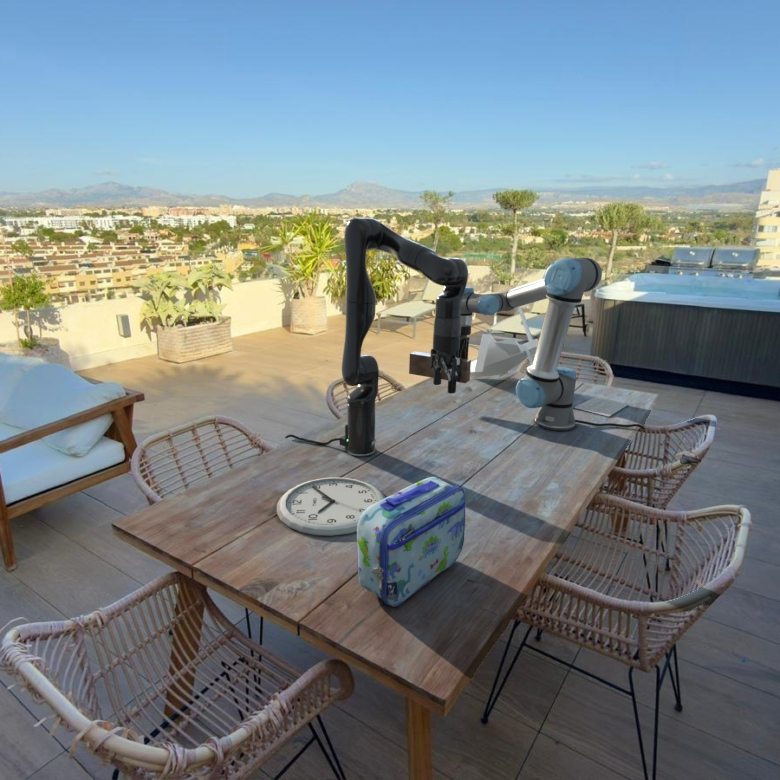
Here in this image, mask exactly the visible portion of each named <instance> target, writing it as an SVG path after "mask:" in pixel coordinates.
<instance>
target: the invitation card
mask: <svg viewBox="0 0 780 780" xmlns="http://www.w3.org/2000/svg"><path fill="white" fill-rule="evenodd" d="M628 406H629V404H627V403H623V402H618V401H614V400H609V399H605V398H601V397H596V396H593V397H592V398H590V399H588V400H586V401H584V402H582V403H580V404H578V405H575V406H574V407H573V409H575V410H581V411H584V412H587V413H593V414H596V415H600V416H604V417H608V418H609V417H611V416H613V415H614V414H616V413H617V412H619V411H621V410H623V409H624V408H626V407H628Z"/></svg>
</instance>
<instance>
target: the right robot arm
mask: <svg viewBox="0 0 780 780" xmlns="http://www.w3.org/2000/svg"><path fill="white" fill-rule="evenodd" d="M602 276H603V272H602V268H601V266H600V264H599V262H597V260H595V259H593V258H590V257H564V258H561V259H557V260H555V261H553V262H552V263H551V264H550V265H549V266H548V267H547V269H546V271H545V273H544V276H543V278H541V279H538V280H536V281H532V282H529V283H527V284H523V285H520V286H518V287H515V288H511V289H508V290H505V291H501V292H495V293H485V294H484V293H483V294H482V293H476V292H475V289H474V287H472V286H466V288H465V291H464V295H463V298H462V301H461V336H460V349H459V350H458V351H456V353H455V355H456V358H462V359H469V346H470V337H469V336H470V335H471V334H472V324H473V321H472V320H473V313H475V314H480V315H484V316H493V315H495V314H496V313H499V312H509V311H513V310H514V309H516V308H520V307H522V306H525V305H529V304H533V303H537V302H539V301H543V300H546V299H548V304H547V308H546V312H545V315H544V319H543V323H542V327H541V331H540V334H539V338H538V340H539V342H538V346H537V349H536V353H535V354H534V357H533V364H532V365H530V364H529V366H527V367H526V371H525V374H524V377H523V378H521V379H519V380H518V381H517V383H516V386H515V394H516V397H517V398H518V401H519V402H520V403H521V405H523V406H525V407H527V408H529V409H538V410H537V411H536V413H535V416H534V424H535V425H536V426H537V427H539V428H542V429H544V430H549V431H556V432H567V431H572V430H574V429H575V428H576V423H577V424H584V425H588V426H593V427H620V428H634V427H638V428H640V429H641V430H646V428H645V426H643V424H642V425H641V424H639V423H633V424H632V423H630V424H623V423H614V422H613V423H612V422H604V423H594V422H590V421H587V420H580V419H576V418H575V417H576V416H575V413H574V407H573V405H574V398H575V391H576V383H577V372H576V370H575V369H573V368H571V367H566V366H561V365H559V364H560V363H559V362H560V359H561V357H562V356H561V355H562V352H563V348H564V345H565V342H566V338H567V336H568V335H567V334H568V331H569V328H570V325H571V322H572V321H571V320H572V318H573V315H574V314H573V313H574V311H575V308H576V306H578V305H580V304H581V303H582V299H583V296H584V294H585V293H586V292H590V291H592V290H594V289H595V288H596V287H598V285H599V284H600V282H601V280H602V278H603V277H602ZM457 375H458V371H457ZM457 381H460V380H457Z"/></svg>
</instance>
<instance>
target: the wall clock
mask: <svg viewBox="0 0 780 780" xmlns="http://www.w3.org/2000/svg"><path fill="white" fill-rule="evenodd" d="M385 498H386V496H385V494H384V493H383V492H382V491H381V490H380V489H379V488H377V487H376V486H374V485H372V484H371V483H369V482H365V481H362V480H359V479H355V478H349V477H338V476H337V477H335V476H333V477H332V476H331V477H322V478H317V479H312V480H307V481H305V482H302V483H299V484H297V485H295V486H293V487H292V488H290V489H288V490H287V491H286V492H285V493H284V494H283V495H281V496H280V498H279V499H278V502H277V503H276V515H277V517H278V518H279V520H280V521H281V522H282V523H283V524H285V525H286V526H287V527H288V528H290V529H293V530H295V531H297V532H299V533H303V534H308V535H312V536H327V537H328V536H329V537H331V536H332V537H333V536H342V535H350V534H352V533H357V526H358V522H359V519H360V517H361V515H362V513H363V512H364V511H365V510H366V509H367V508H368V507H369V506H371V505H373V504H375V503H377V502H379V501H381V500H383V499H385Z"/></svg>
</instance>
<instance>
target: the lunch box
mask: <svg viewBox="0 0 780 780" xmlns="http://www.w3.org/2000/svg"><path fill="white" fill-rule="evenodd" d="M465 528H466V494H465V490H464V489H463V487H461V486H458V485H456V486H454V485H451V484H450V483H448V482H446V481H444V480H442V479H440V478H438V477H436V476H430V477H426V478H424V479H421V480H420V481H417V482H415V483H413V484H411V485H409V486H407V487H405V488H402V489H401V490H399V491H396V492H395V493H393V494H390V495H389V496H387V497H385V499H383V500H381V501H379V502H377V503H375V504H373V505H371V506H369V507H368V508H367V509H366V510H365V511H364V512H363V513H362V515H361V517H360V519H359V522H358V526H357V532H356V549H357V550H356V551H357V552H356V553H357V577H358V583H359V585H360V587H361V588H362V589H364V590H366V591H368V592H370V593H372V594H374V595H375V596H377V598H379V599H381V600H382V602H383V603H384V604H385V605H387V606H390V607H393V608H394V607H398V606H400V605H402V604H403V603H404V602H405V601H406V600H408V599H409V598H410V597H411V596H412V595H414V594H416V592H418V591H419V590H420V589H422V588H423V587H424V586H426V585H427V584H428V583H430V582H431V581H432V579H434V578H435V577H436V576H438V575H439V574H440V573H442V572H444V571H446V570H447V569H449V568H450V567H451V566H452V565H454V563H456V561H457V560H458V558H459V557H460V555H461V553H462V550H463V547H464V542H465V530H466V529H465Z"/></svg>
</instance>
